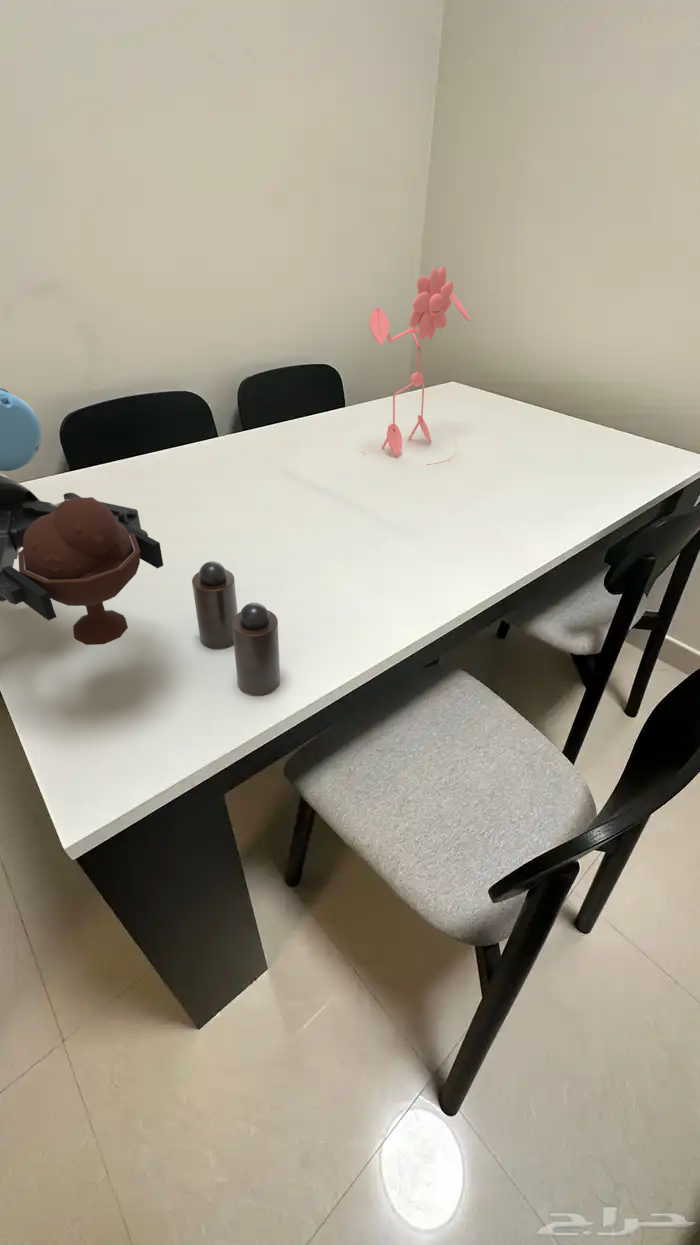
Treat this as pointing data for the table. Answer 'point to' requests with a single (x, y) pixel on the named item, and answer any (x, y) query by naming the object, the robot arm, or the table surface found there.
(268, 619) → the walnut mill near
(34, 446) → the robot arm
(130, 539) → the ice cream bowl
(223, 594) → the walnut mill middle
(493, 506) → the table surface
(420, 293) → the figurine
